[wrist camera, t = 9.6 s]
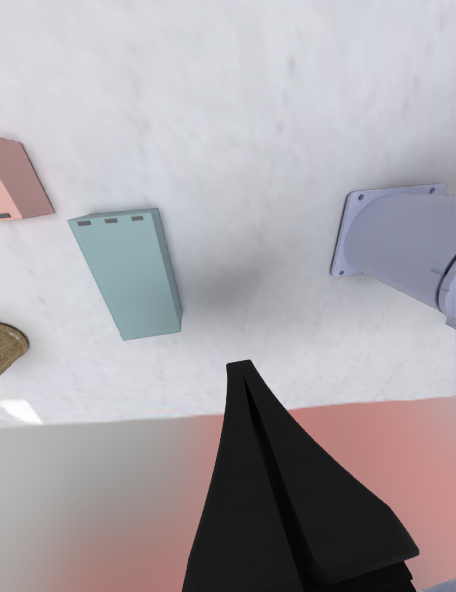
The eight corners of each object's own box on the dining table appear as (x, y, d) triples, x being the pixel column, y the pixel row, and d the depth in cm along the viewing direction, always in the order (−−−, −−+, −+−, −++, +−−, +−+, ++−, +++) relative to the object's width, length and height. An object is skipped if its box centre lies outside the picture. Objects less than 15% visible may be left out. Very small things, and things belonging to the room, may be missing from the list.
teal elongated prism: (158, 208, 15) (150, 213, 12) (182, 313, 20) (180, 332, 17) (89, 214, 14) (66, 220, 12) (132, 320, 19) (123, 341, 17)
